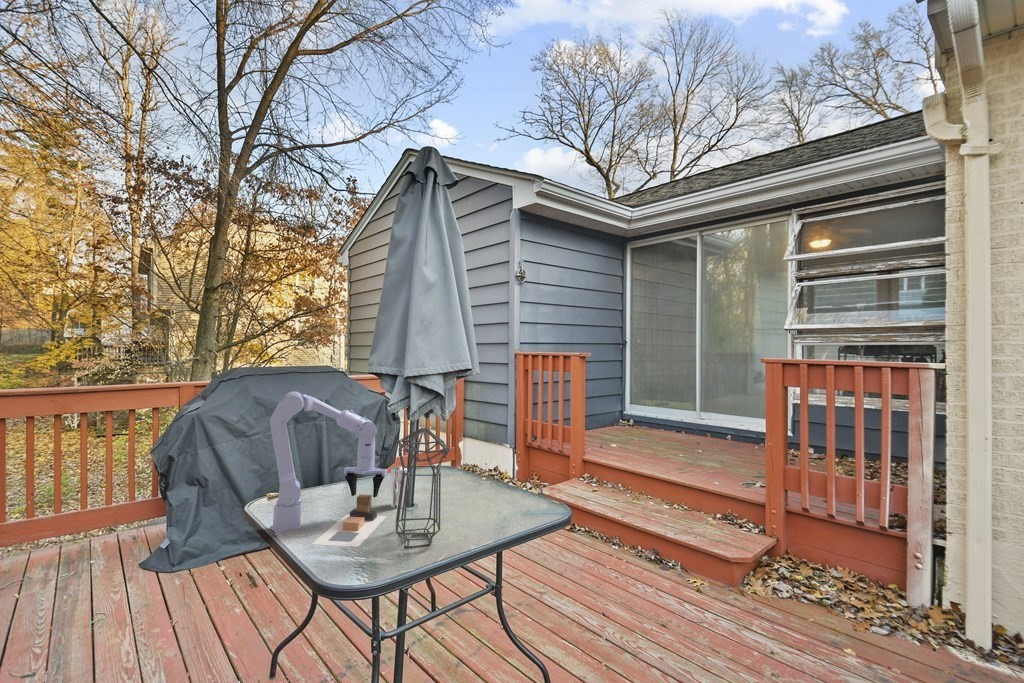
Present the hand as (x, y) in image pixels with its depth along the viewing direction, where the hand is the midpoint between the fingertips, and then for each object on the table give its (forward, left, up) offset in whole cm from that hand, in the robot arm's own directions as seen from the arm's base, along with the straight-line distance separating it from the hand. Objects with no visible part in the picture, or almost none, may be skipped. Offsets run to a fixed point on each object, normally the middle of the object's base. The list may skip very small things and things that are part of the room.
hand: (364, 495), depth 157 cm
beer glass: (-5, +16, -9) cm, 19 cm away
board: (+7, -7, -9) cm, 13 cm away
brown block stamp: (0, 0, -8) cm, 8 cm away
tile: (+6, -6, -8) cm, 11 cm away
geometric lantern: (+25, +7, -9) cm, 28 cm away
